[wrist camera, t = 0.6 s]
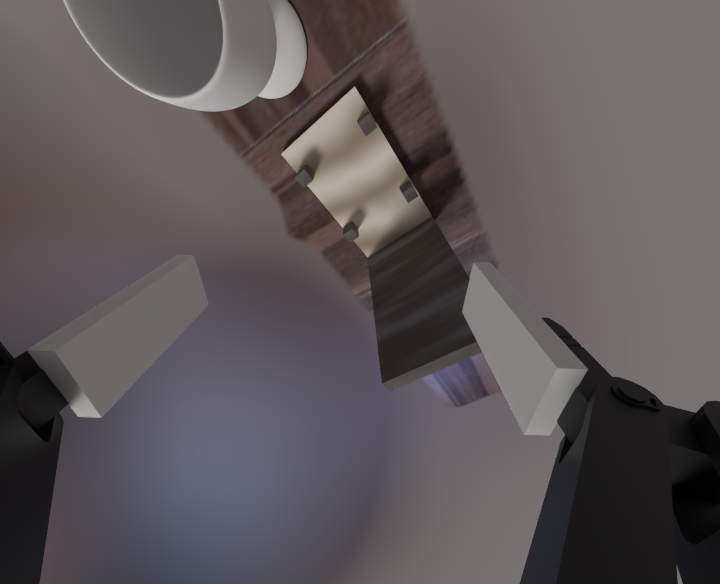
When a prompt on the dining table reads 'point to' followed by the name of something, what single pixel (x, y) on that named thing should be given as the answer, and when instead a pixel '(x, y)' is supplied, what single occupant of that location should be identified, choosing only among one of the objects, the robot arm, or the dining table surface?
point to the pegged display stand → (388, 241)
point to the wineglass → (197, 48)
